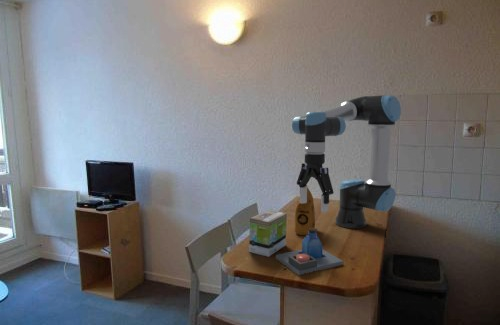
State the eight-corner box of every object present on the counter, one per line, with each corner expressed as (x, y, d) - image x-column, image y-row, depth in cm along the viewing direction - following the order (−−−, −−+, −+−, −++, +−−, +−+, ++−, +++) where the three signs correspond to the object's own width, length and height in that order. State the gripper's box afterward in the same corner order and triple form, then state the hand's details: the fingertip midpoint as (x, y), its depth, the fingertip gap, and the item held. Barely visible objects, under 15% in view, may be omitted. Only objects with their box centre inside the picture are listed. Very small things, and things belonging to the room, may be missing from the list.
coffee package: (291, 234, 164) (292, 189, 161) (296, 226, 176) (297, 183, 172) (312, 237, 161) (314, 190, 158) (316, 228, 173) (317, 185, 169)
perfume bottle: (301, 255, 140) (302, 226, 139) (316, 254, 141) (317, 226, 140) (306, 262, 134) (307, 232, 133) (322, 260, 135) (323, 231, 134)
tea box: (269, 257, 138) (270, 221, 136) (248, 252, 144) (248, 217, 141) (286, 245, 151) (287, 212, 149) (266, 240, 156) (266, 209, 154)
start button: (304, 258, 132) (304, 253, 131) (312, 263, 127) (312, 258, 127) (293, 260, 130) (293, 255, 129) (300, 265, 125) (301, 260, 125)
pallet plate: (317, 249, 146) (317, 240, 146) (342, 264, 132) (343, 254, 131) (275, 258, 138) (275, 248, 137) (298, 275, 123) (298, 264, 123)
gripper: (288, 150, 141) (288, 200, 145) (327, 157, 119) (325, 217, 122) (304, 149, 145) (303, 198, 148) (344, 156, 122) (342, 214, 126)
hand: (313, 207), depth 135 cm, fingers open, 13 cm apart
